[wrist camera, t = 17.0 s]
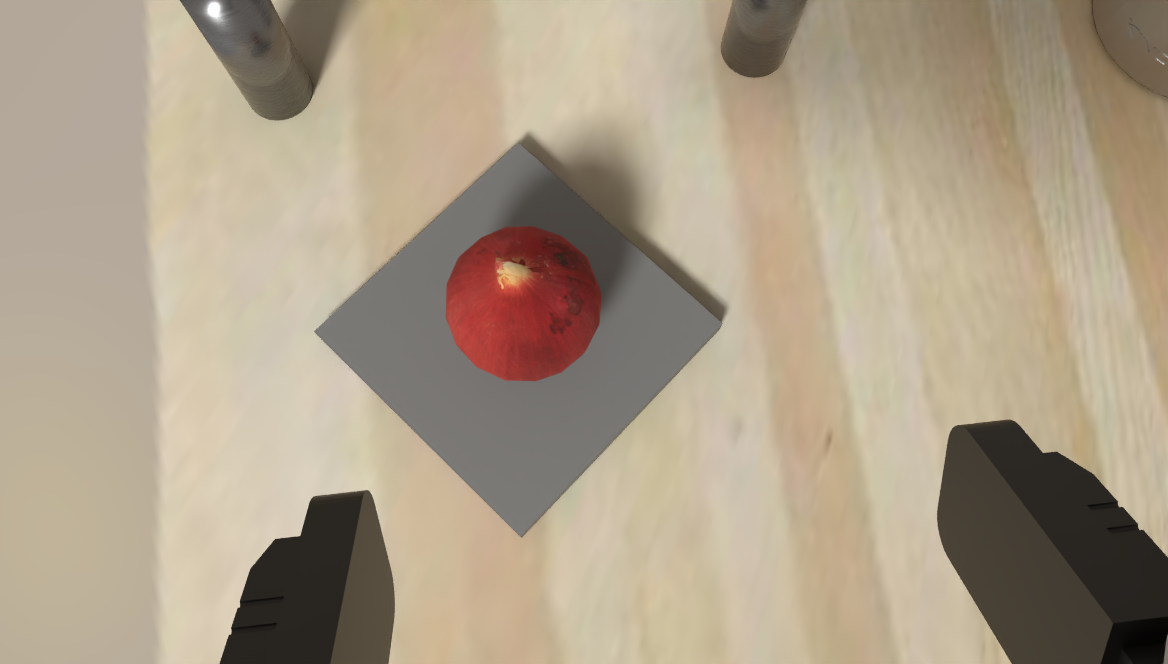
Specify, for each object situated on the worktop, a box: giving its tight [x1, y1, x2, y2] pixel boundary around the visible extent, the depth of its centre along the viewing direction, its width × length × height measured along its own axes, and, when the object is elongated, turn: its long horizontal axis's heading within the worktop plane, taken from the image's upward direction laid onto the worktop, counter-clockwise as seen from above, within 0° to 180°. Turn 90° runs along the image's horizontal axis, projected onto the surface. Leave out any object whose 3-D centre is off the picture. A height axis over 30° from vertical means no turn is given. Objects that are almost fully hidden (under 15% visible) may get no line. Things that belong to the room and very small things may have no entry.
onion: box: [446, 226, 602, 381], centre depth 34 cm, size 6×6×8 cm
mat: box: [314, 143, 723, 538], centre depth 39 cm, size 12×12×1 cm
